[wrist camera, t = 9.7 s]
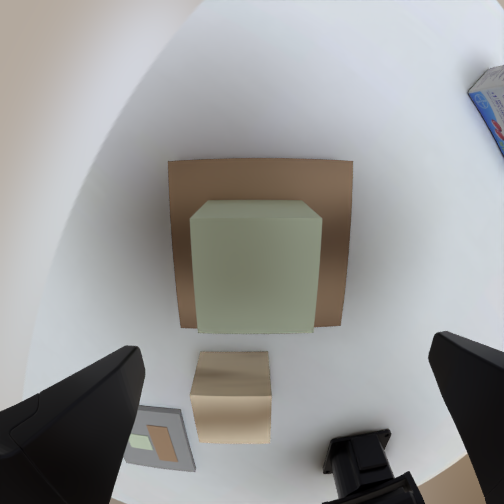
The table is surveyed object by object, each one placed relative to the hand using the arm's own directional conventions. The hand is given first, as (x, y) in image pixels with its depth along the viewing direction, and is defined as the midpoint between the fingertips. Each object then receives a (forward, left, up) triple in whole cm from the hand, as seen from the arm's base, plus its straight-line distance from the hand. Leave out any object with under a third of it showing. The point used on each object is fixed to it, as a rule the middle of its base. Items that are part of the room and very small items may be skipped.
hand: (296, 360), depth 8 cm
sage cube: (+1, +1, -9) cm, 9 cm away
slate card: (-19, +12, -12) cm, 26 cm away
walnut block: (+1, +1, -12) cm, 12 cm away
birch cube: (-10, +3, -12) cm, 16 cm away
